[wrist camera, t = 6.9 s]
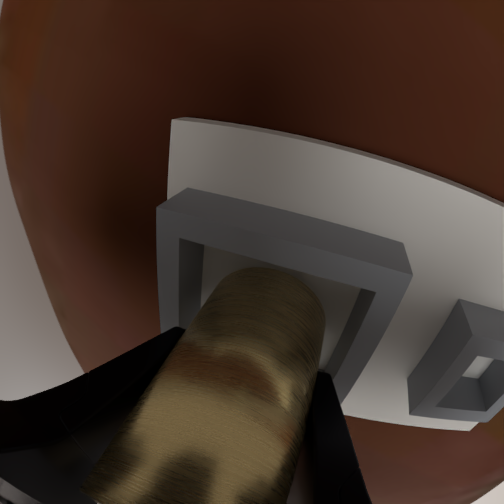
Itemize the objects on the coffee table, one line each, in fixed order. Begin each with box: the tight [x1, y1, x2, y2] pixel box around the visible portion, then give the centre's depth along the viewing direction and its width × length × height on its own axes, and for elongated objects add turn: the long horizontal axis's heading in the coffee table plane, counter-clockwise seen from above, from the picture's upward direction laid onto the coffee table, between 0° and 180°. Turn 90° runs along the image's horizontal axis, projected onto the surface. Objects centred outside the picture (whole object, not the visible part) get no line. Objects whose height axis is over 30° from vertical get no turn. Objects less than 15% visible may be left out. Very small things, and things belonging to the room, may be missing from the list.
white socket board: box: [156, 117, 504, 431], centre depth 10 cm, size 12×18×3 cm, turn 82°
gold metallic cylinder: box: [79, 267, 326, 504], centre depth 7 cm, size 4×4×8 cm
